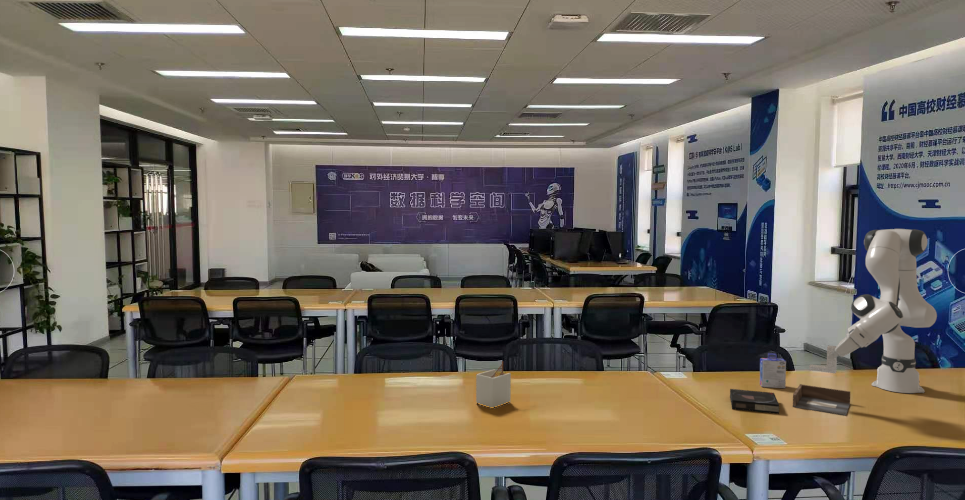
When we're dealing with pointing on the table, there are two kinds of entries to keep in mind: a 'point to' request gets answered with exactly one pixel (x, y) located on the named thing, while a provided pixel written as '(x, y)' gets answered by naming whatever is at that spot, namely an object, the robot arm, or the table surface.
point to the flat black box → (754, 401)
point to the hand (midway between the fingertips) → (830, 356)
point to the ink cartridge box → (772, 372)
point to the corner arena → (822, 399)
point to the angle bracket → (830, 363)
